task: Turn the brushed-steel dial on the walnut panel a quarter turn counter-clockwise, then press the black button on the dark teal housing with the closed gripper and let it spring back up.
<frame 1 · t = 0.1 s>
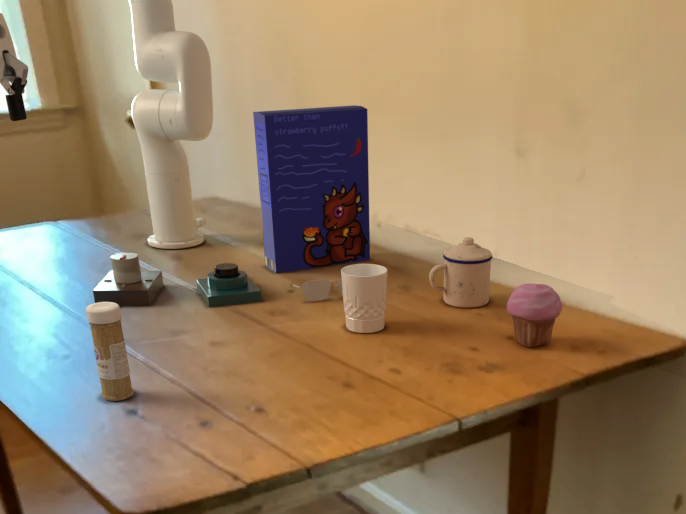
cupcake: (531, 344, 152), on the table
eyeglasses: (329, 294, 175), on the table
dial: (126, 267, 170), point 5 cm above the table, hinge at 0.0°
cereal box: (318, 264, 193), on the table
sprinkles bottle: (118, 397, 132), on the table
teacup with lid: (458, 303, 170), on the table
button housing: (229, 295, 173), on the table
black button: (226, 271, 171), point 5 cm above the table, slide at 0.1 cm
dial panel: (130, 295, 173), on the table
white cup: (365, 328, 158), on the table
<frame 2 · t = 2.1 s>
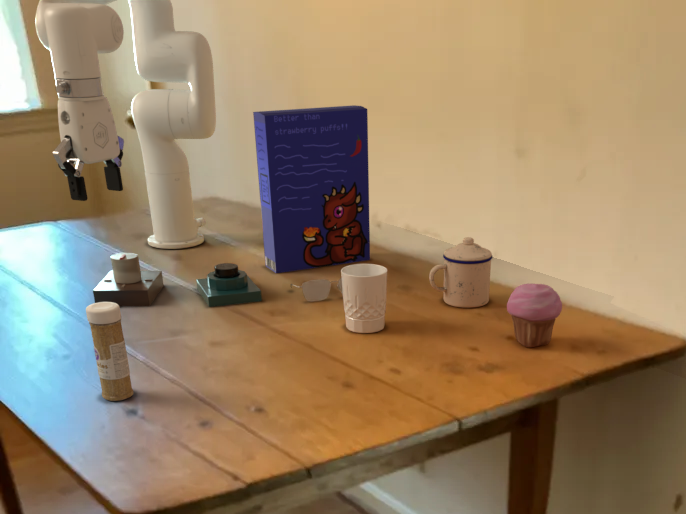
hand: (97, 195, 163), 19 cm above the table, tool pointing down, fingers open, 9 cm apart
nothing on the table moved.
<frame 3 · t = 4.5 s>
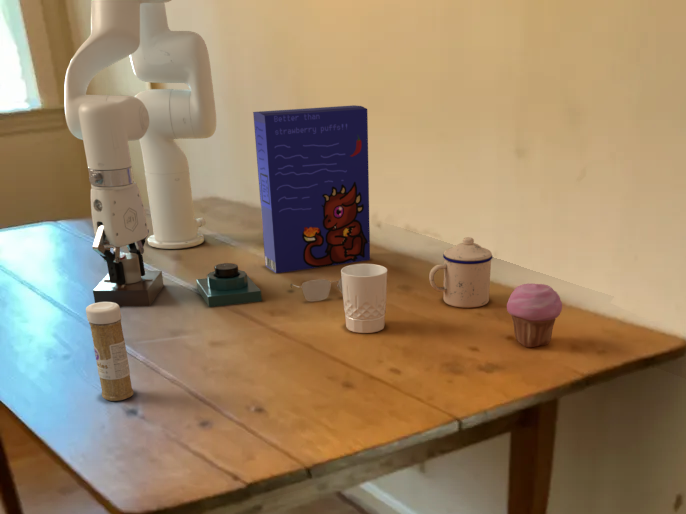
hand: (127, 278, 171), 3 cm above the table, tool pointing down, fingers closed on dial, 5 cm apart
dial: (126, 267, 170), point 5 cm above the table, hinge at -0.1°, touching gripper
everything else where it was.
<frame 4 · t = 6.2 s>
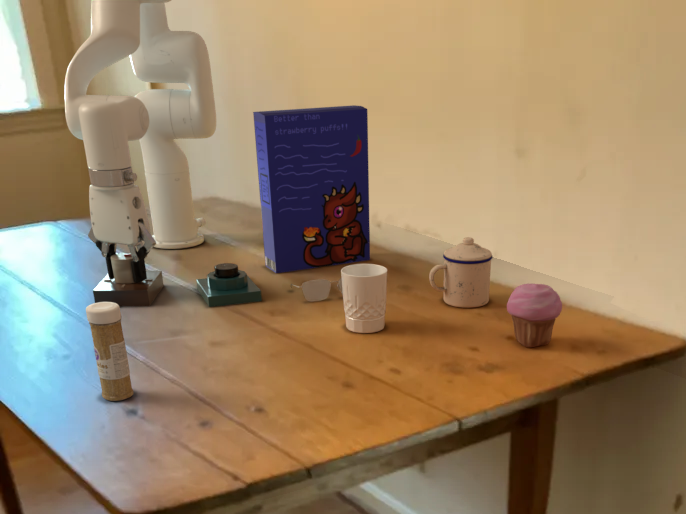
hand: (127, 278, 171), 3 cm above the table, tool pointing down, fingers closed on dial, 5 cm apart
dial: (126, 267, 170), point 5 cm above the table, hinge at 90.8°, touching gripper
everything else where it was.
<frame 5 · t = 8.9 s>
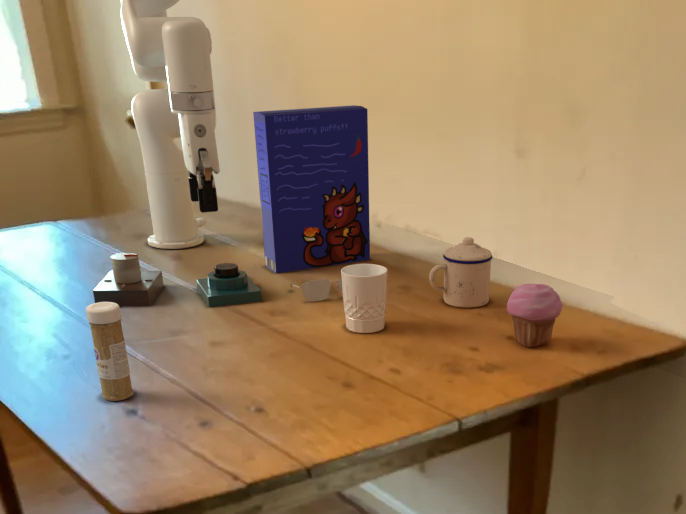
hand: (204, 206, 165), 17 cm above the table, tool pointing down, fingers open, 9 cm apart
dial: (126, 267, 170), point 5 cm above the table, hinge at 91.9°
everything else where it was.
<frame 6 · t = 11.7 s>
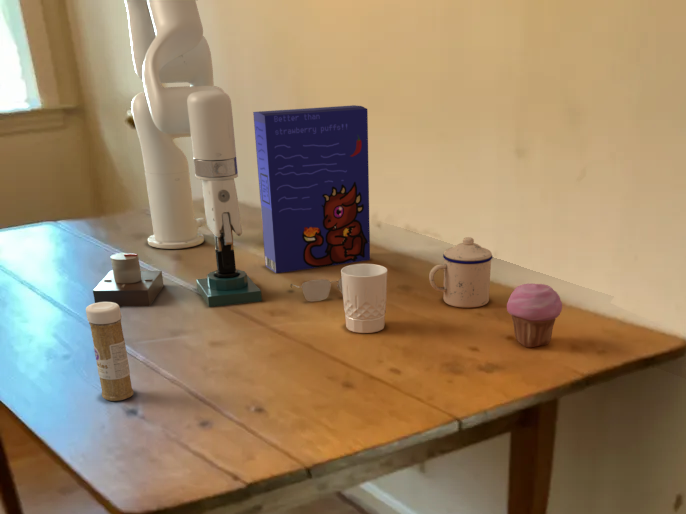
hand: (226, 271, 171), 5 cm above the table, tool pointing down, fingers closed
black button: (227, 276, 172), point 4 cm above the table, slide at -0.8 cm, touching gripper
everything else where it was.
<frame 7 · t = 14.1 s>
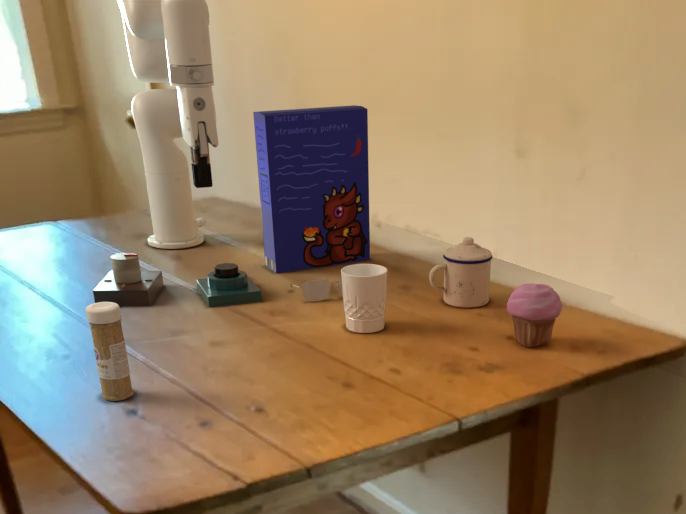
hand: (203, 186, 167), 19 cm above the table, tool pointing down, fingers closed
black button: (226, 271, 171), point 5 cm above the table, slide at 0.1 cm
everything else where it was.
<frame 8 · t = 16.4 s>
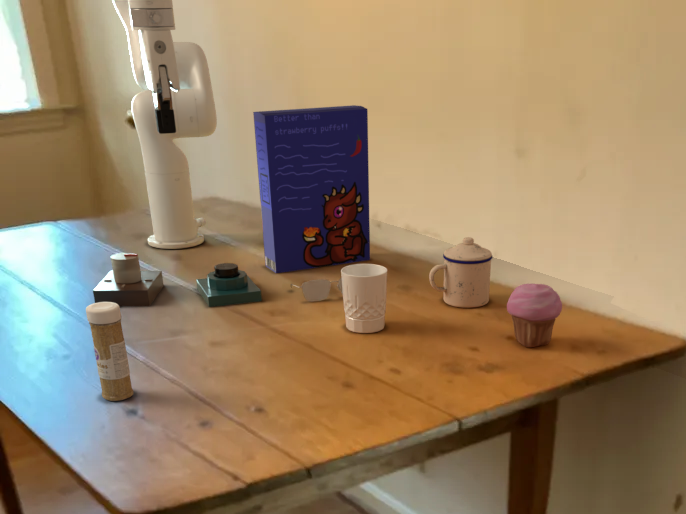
hand: (167, 132, 170), 27 cm above the table, tool pointing down, fingers closed
nothing on the table moved.
at the end: dial at +92° (first picture: +0°); black button pushed in 1.4 cm at the most during the clip, back to where it started at the end; black button slide at 0.1 cm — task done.
